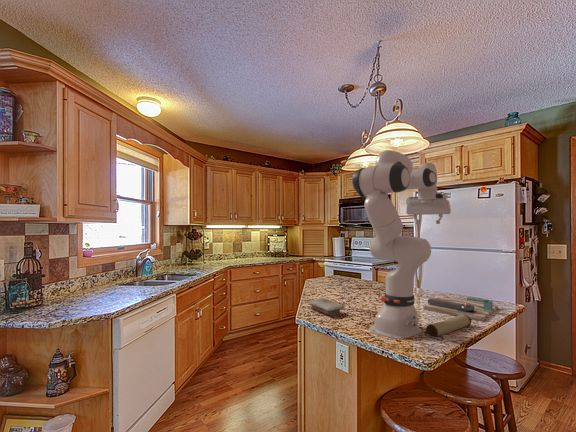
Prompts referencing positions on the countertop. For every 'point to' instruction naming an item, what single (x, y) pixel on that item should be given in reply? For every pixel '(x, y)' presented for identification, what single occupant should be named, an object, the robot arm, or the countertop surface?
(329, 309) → the packaged product
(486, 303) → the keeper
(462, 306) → the lever
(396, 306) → the robot arm
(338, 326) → the countertop surface
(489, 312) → the board
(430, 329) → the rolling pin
